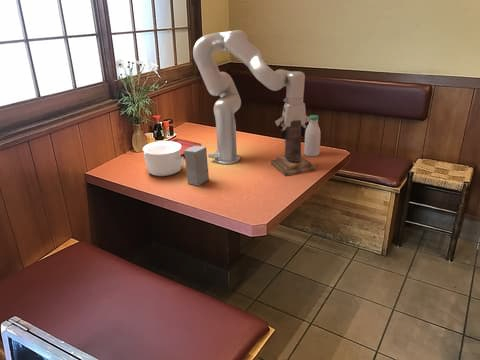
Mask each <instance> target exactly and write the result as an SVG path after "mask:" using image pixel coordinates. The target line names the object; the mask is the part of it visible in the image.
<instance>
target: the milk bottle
mask: <svg viewBox="0 0 480 360" xmlns="http://www.w3.org/2000/svg"><path fill="white" fill-rule="evenodd" d="M308 117H310V118H311V120H310V122H309V124H308V125H307V126H306V128H305V134H304V150H303V151H304V155H305V156H307V157H318V156H319V155H320V153H321V133H322V132H321V129H320V126H319V123H318V122H319V115H317V114H310V115H309V116H308Z"/></svg>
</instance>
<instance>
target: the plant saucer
mask: <svg viewBox="0 0 480 360" xmlns="http://www.w3.org/2000/svg"><path fill="white" fill-rule="evenodd" d="M171 141H173V142H177V143H179V144H181V149H180V150H179V151H180V156H182V157H183V156H184V157H185V154H184V150H186V149H188V148H190V147H193V146H195V145H196V146H202V144H203V143H199V142H195V141H191V140H187V139H182V138H179V137H178V138H174V139H172V140H171ZM184 157H183V158H184Z"/></svg>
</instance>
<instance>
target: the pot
mask: <svg viewBox="0 0 480 360" xmlns="http://www.w3.org/2000/svg"><path fill="white" fill-rule="evenodd" d="M180 149H181V144H179V143H177V142H173V141H172V140H160V141H153V142H150V143H148V144H146V145H144V146H143V147H142V151H143V159H144V160H145V166H146V169H147V171H148V173H149V174H151V175H153V176H157V177H165V176H171V175H174V174H177V173H179V172H180V171H181V170H182V165H184V163H185V157H182V156H180V151H179V150H180Z"/></svg>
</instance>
